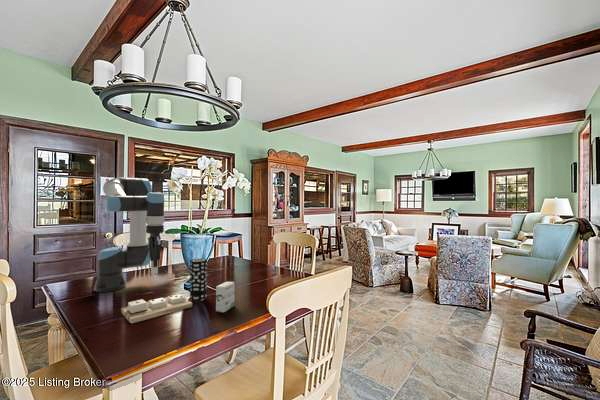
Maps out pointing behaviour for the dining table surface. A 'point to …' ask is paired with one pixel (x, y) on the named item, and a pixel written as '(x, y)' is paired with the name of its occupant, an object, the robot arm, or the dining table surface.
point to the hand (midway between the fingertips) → (154, 273)
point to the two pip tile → (157, 303)
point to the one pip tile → (137, 306)
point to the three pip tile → (176, 299)
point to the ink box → (225, 296)
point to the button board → (155, 311)
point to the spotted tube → (198, 279)
